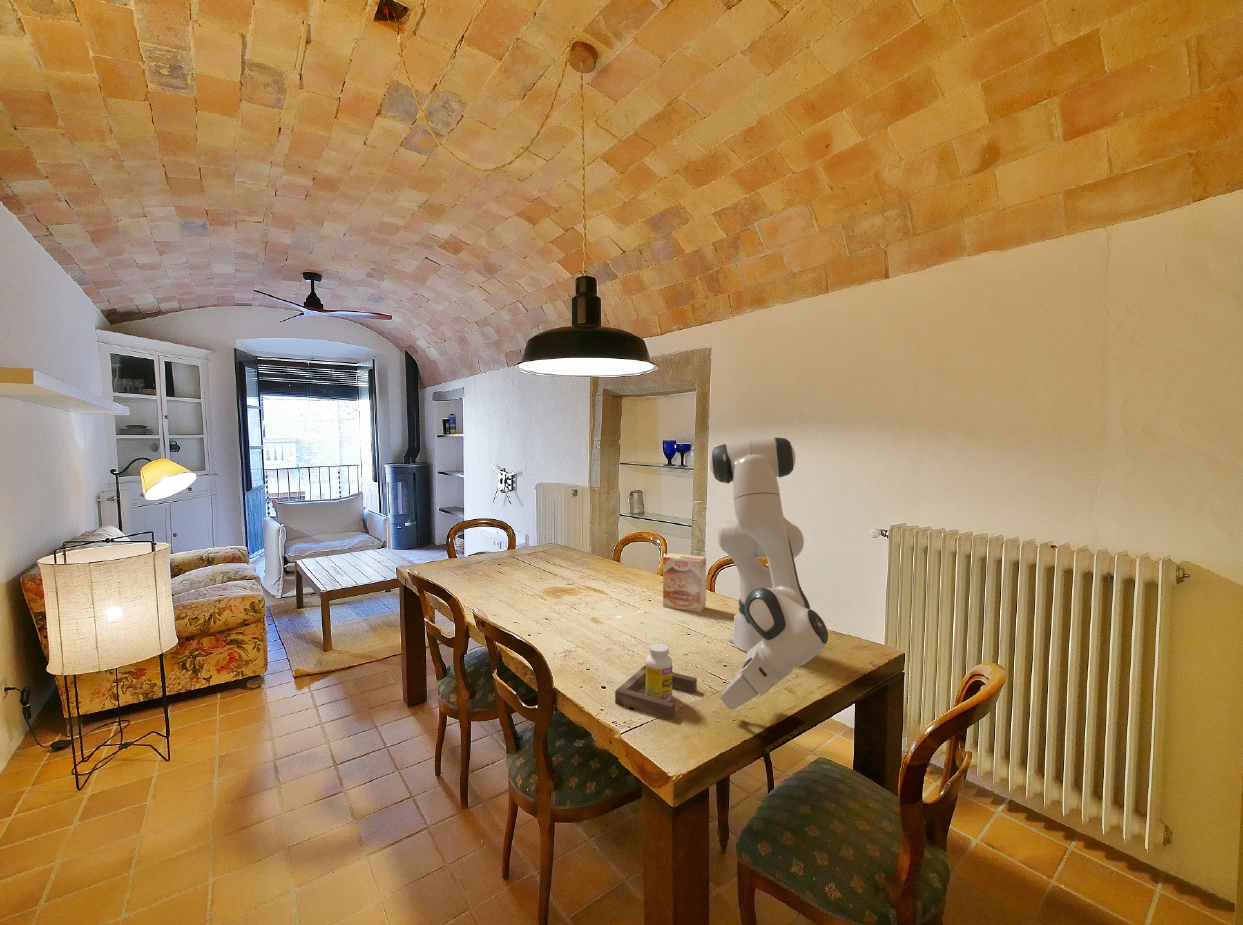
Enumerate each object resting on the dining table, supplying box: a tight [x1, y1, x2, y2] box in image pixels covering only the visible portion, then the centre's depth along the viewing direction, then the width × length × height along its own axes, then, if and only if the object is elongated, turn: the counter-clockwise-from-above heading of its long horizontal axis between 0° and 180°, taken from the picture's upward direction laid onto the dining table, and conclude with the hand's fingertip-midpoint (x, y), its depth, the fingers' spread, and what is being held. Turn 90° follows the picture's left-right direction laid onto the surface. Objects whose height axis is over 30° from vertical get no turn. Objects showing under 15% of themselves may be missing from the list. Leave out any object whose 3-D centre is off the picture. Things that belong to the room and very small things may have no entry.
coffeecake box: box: [662, 552, 707, 613], centre depth 196 cm, size 15×7×20 cm, turn 64°
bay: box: [614, 664, 698, 720], centre depth 130 cm, size 16×15×3 cm
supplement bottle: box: [645, 643, 673, 701], centre depth 129 cm, size 7×7×13 cm
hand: (723, 695), depth 121 cm, fingers closed
